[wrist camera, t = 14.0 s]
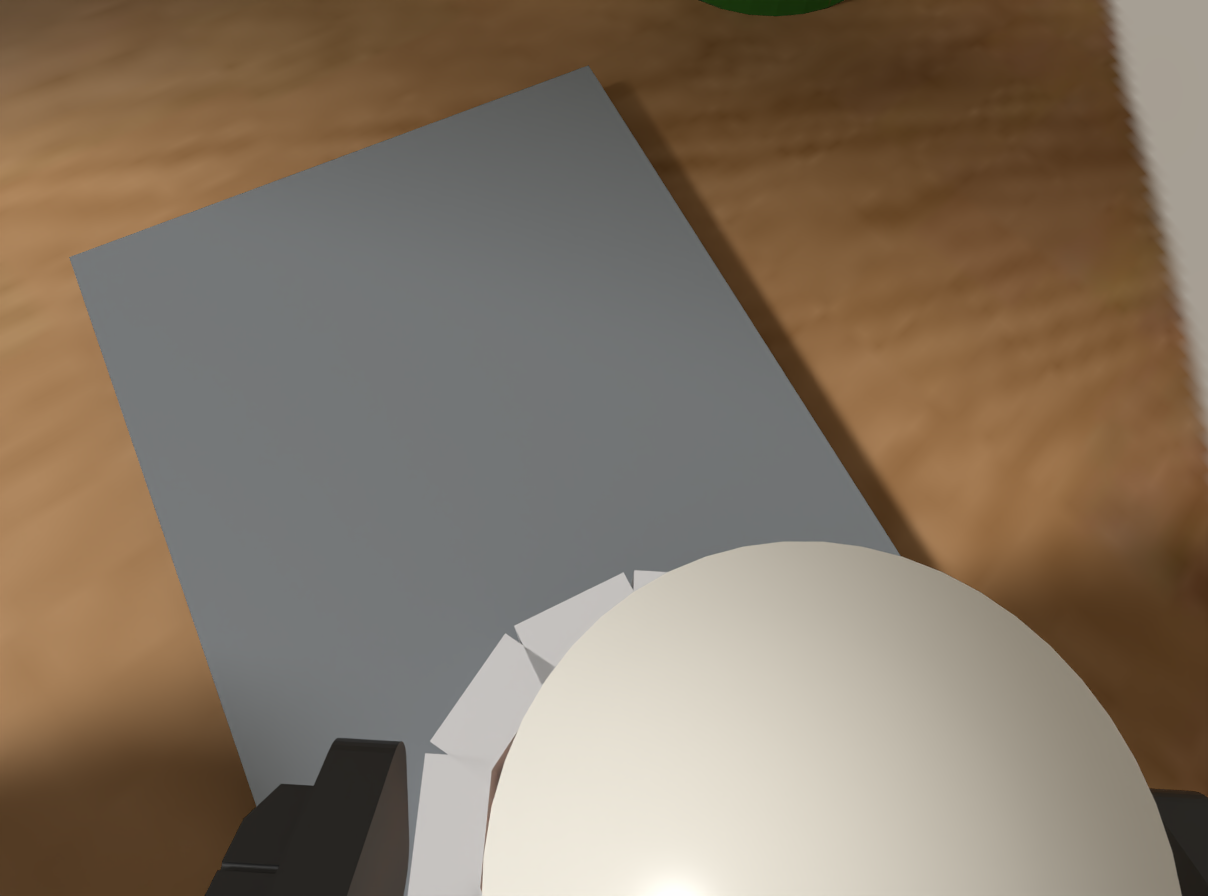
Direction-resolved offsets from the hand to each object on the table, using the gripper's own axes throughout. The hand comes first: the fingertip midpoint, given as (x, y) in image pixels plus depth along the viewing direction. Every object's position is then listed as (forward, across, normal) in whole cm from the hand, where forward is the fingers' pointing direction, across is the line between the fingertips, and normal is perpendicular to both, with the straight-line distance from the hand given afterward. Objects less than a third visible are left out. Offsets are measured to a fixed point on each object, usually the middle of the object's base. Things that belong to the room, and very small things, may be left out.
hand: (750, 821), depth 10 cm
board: (+10, +3, +3) cm, 11 cm away
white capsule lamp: (+5, 0, +6) cm, 8 cm away
